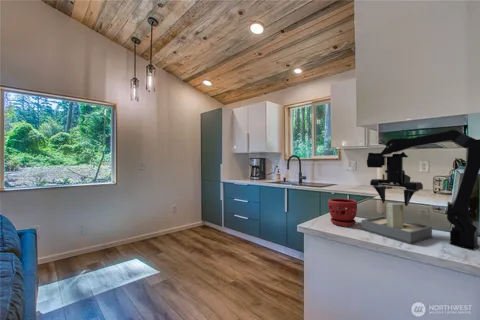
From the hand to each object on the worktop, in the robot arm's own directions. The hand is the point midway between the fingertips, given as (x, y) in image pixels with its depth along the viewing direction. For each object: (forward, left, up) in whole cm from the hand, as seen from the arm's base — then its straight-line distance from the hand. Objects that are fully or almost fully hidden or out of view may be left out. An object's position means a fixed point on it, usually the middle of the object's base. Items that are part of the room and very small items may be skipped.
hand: (394, 203), depth 99 cm
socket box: (0, 0, -13) cm, 13 cm away
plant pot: (+21, +7, -13) cm, 26 cm away
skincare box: (0, 0, -12) cm, 12 cm away
